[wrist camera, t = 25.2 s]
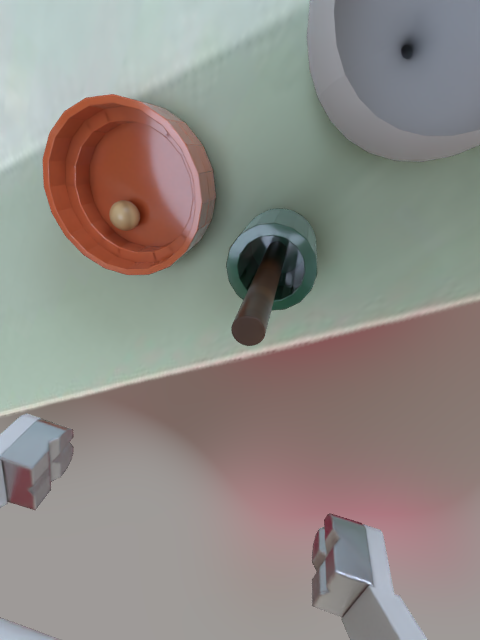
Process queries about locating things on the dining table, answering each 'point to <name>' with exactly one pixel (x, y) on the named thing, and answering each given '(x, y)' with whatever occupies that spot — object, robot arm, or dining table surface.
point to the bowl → (128, 182)
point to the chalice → (399, 74)
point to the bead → (124, 215)
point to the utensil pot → (297, 261)
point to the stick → (259, 297)
